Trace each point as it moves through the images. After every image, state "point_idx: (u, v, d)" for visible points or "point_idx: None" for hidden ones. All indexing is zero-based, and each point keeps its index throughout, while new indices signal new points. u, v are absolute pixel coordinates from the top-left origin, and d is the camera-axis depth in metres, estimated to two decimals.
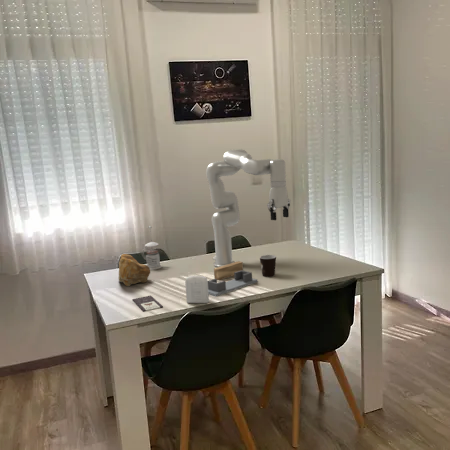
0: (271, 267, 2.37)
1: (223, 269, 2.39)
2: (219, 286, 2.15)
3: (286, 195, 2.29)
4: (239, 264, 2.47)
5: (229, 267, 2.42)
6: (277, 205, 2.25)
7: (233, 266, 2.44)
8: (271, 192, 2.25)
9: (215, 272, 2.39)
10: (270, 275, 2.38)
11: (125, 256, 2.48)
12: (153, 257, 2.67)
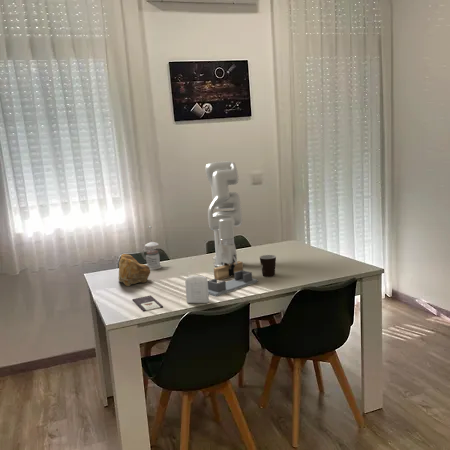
0: (271, 267, 2.37)
1: (223, 269, 2.39)
2: (219, 286, 2.15)
3: None
4: (239, 264, 2.47)
5: None
6: None
7: None
8: (232, 249, 2.38)
9: (215, 272, 2.39)
10: (270, 275, 2.38)
11: (125, 256, 2.48)
12: (153, 257, 2.67)
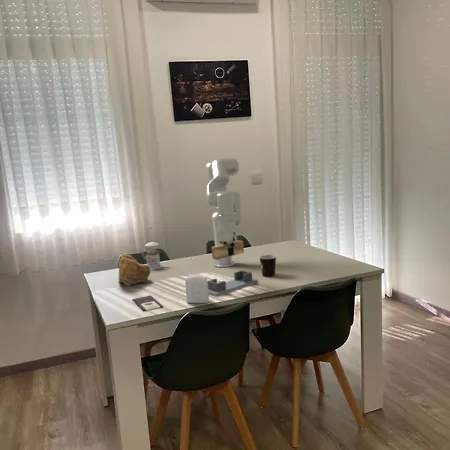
0: (271, 267, 2.37)
1: (222, 247, 2.19)
2: (219, 286, 2.15)
3: None
4: (239, 243, 2.27)
5: (228, 246, 2.22)
6: None
7: None
8: (232, 225, 2.18)
9: (213, 251, 2.19)
10: (270, 275, 2.38)
11: (125, 256, 2.48)
12: (153, 257, 2.67)
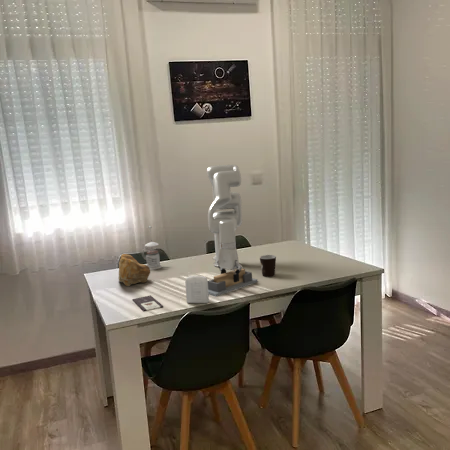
0: (271, 267, 2.37)
1: (224, 277, 2.20)
2: (219, 286, 2.15)
3: None
4: (241, 271, 2.27)
5: (230, 275, 2.23)
6: None
7: None
8: (234, 253, 2.18)
9: (215, 280, 2.19)
10: (270, 275, 2.38)
11: (125, 256, 2.48)
12: (153, 257, 2.67)
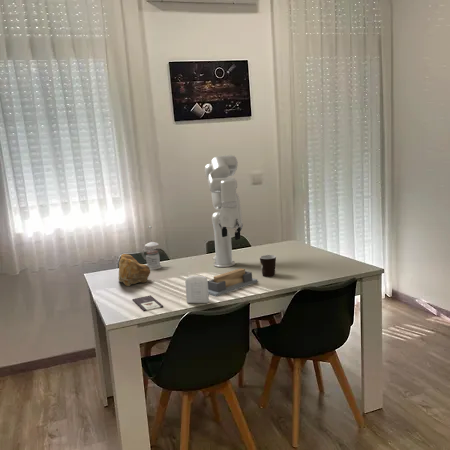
0: (271, 267, 2.37)
1: (224, 277, 2.20)
2: (219, 286, 2.15)
3: None
4: (241, 271, 2.27)
5: (230, 275, 2.23)
6: None
7: (235, 274, 2.25)
8: (235, 212, 2.24)
9: (215, 280, 2.19)
10: (270, 275, 2.38)
11: (125, 256, 2.48)
12: (153, 257, 2.67)
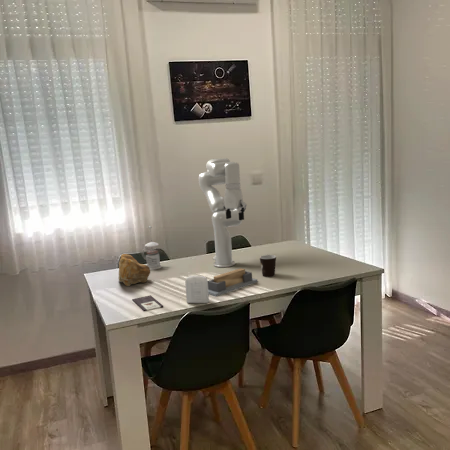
0: (271, 267, 2.37)
1: (224, 277, 2.20)
2: (219, 286, 2.15)
3: None
4: (241, 271, 2.27)
5: (230, 275, 2.23)
6: None
7: (235, 274, 2.25)
8: (238, 193, 2.34)
9: (215, 280, 2.19)
10: (270, 275, 2.38)
11: (125, 256, 2.48)
12: (153, 257, 2.67)
